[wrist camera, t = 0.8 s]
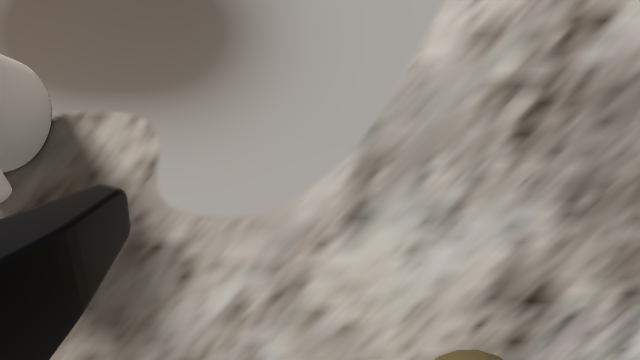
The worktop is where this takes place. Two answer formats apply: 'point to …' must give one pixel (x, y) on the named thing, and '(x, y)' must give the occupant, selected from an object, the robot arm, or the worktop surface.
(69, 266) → the robot arm
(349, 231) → the worktop surface
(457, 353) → the olive tapered cylinder
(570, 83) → the worktop surface
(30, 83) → the mug
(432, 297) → the worktop surface
